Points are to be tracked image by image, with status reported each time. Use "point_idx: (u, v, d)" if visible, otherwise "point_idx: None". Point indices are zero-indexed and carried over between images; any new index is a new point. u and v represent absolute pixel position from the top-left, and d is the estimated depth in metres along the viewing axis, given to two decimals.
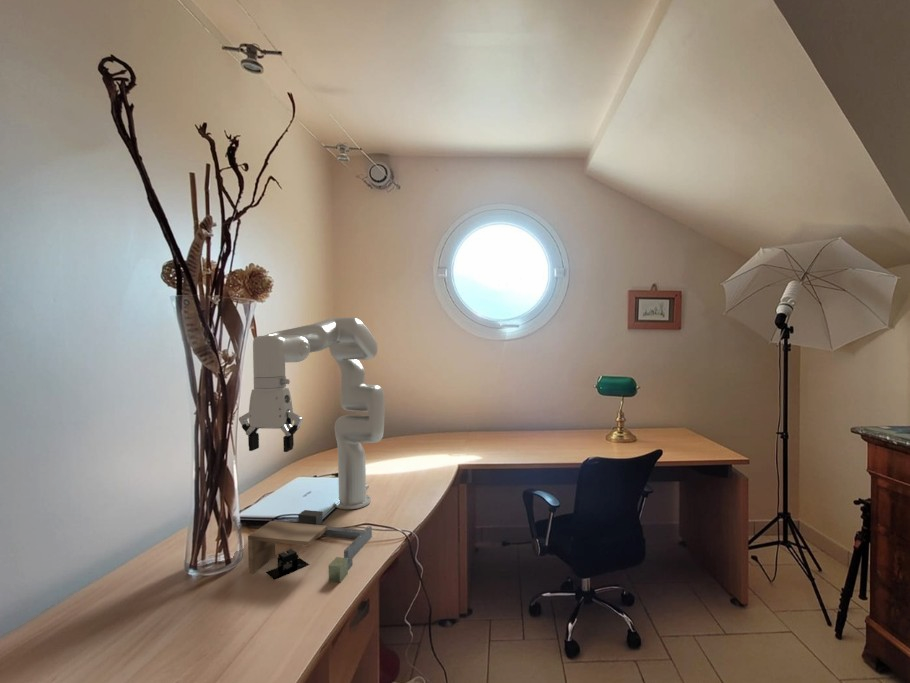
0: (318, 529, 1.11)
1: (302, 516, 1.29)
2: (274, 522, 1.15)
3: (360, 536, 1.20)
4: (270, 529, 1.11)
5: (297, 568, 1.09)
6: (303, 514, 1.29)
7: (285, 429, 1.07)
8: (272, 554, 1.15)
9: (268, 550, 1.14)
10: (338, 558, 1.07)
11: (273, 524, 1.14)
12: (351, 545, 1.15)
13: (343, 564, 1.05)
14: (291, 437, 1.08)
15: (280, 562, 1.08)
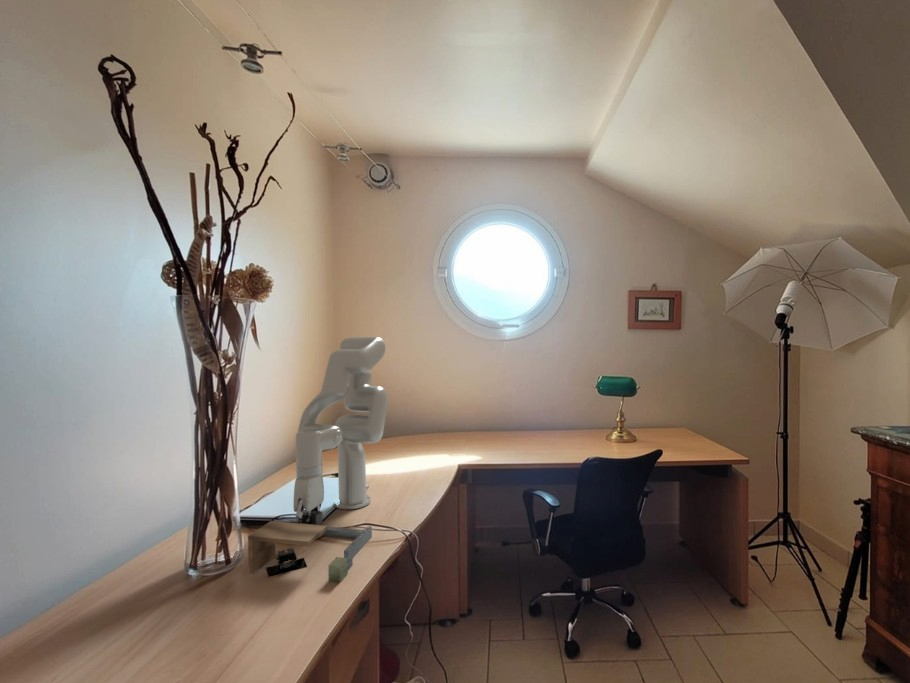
0: (318, 529, 1.11)
1: None
2: (274, 522, 1.15)
3: (360, 536, 1.20)
4: (270, 529, 1.11)
5: (294, 569, 1.09)
6: None
7: (319, 508, 1.33)
8: (272, 554, 1.15)
9: (268, 550, 1.14)
10: (338, 558, 1.07)
11: (273, 524, 1.14)
12: (351, 545, 1.15)
13: (343, 564, 1.05)
14: None
15: (278, 560, 1.09)
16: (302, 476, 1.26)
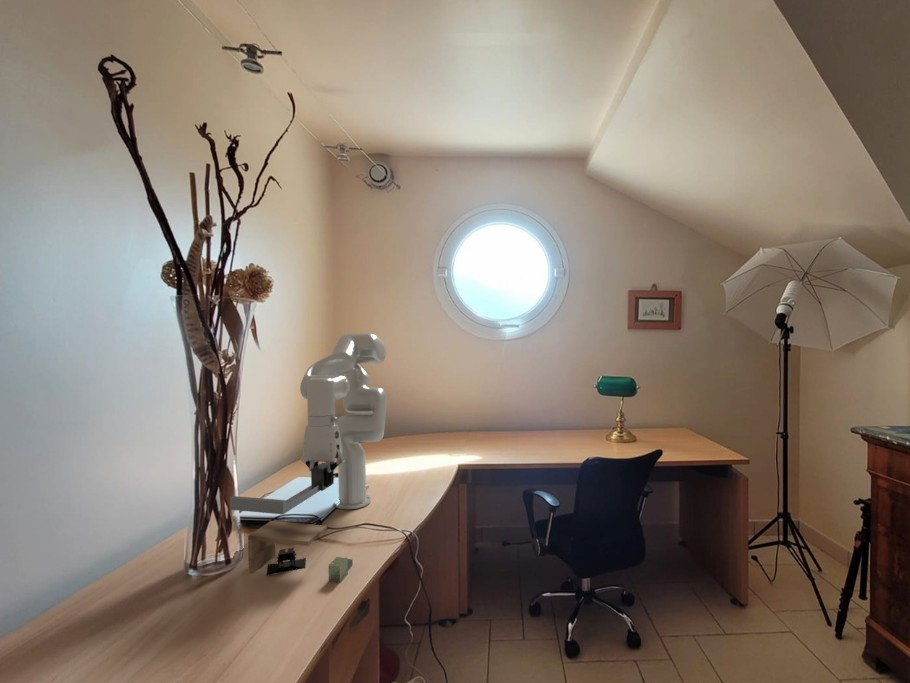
0: (318, 529, 1.11)
1: None
2: (274, 522, 1.15)
3: (260, 499, 1.05)
4: (270, 529, 1.11)
5: (292, 569, 1.09)
6: (321, 464, 1.24)
7: (329, 466, 1.20)
8: (272, 554, 1.15)
9: (268, 550, 1.14)
10: (338, 558, 1.07)
11: (273, 524, 1.14)
12: (242, 497, 1.06)
13: (343, 564, 1.05)
14: (332, 473, 1.22)
15: None
16: None
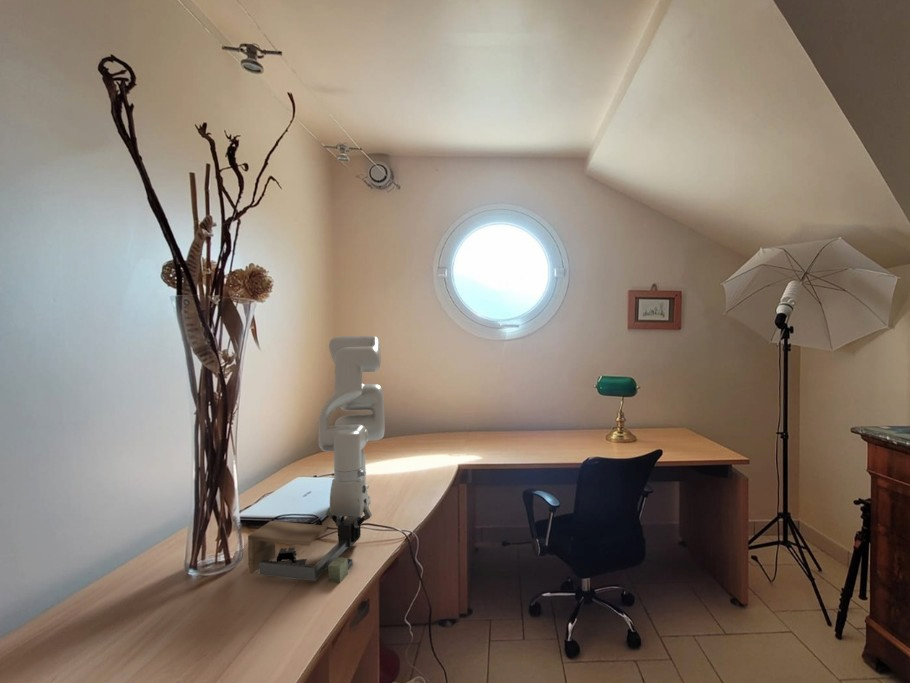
0: (318, 529, 1.11)
1: None
2: (274, 522, 1.15)
3: (291, 564, 1.03)
4: (270, 529, 1.11)
5: None
6: (347, 518, 1.22)
7: (356, 521, 1.18)
8: (272, 554, 1.15)
9: (268, 550, 1.14)
10: (338, 558, 1.07)
11: (273, 524, 1.14)
12: (272, 562, 1.04)
13: (343, 564, 1.05)
14: (359, 528, 1.19)
15: None
16: None
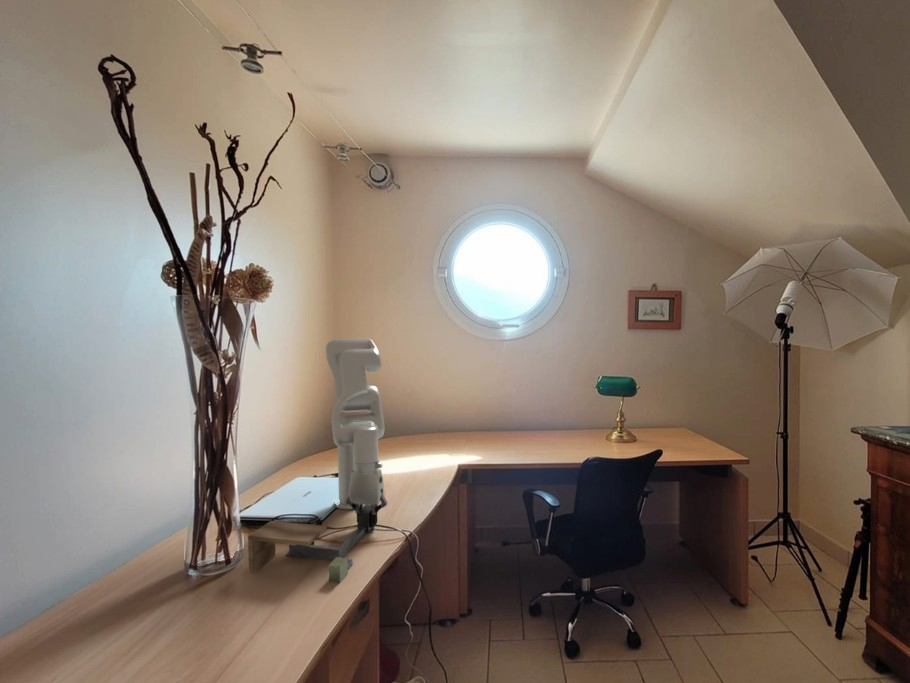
0: (318, 529, 1.11)
1: None
2: (274, 522, 1.15)
3: (317, 546, 1.15)
4: (270, 529, 1.11)
5: None
6: (365, 506, 1.34)
7: (373, 509, 1.30)
8: (272, 554, 1.15)
9: (268, 550, 1.14)
10: (338, 558, 1.07)
11: (273, 524, 1.14)
12: None
13: (343, 564, 1.05)
14: (376, 515, 1.31)
15: None
16: None
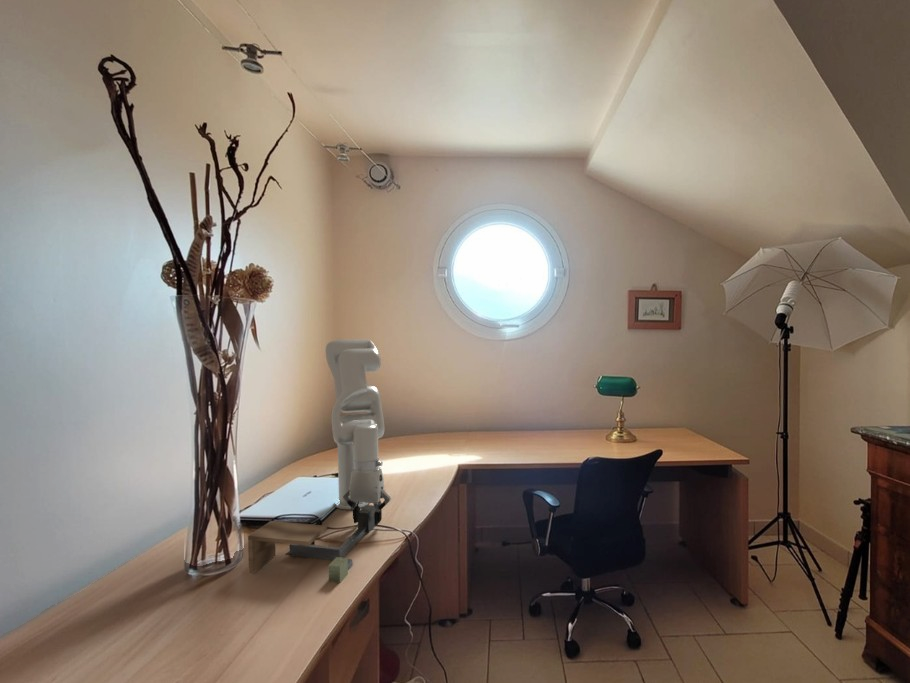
0: (318, 529, 1.11)
1: None
2: (274, 522, 1.15)
3: (318, 546, 1.15)
4: (270, 529, 1.11)
5: None
6: (365, 506, 1.34)
7: (377, 506, 1.30)
8: (272, 554, 1.15)
9: (268, 550, 1.14)
10: (338, 558, 1.07)
11: (273, 524, 1.14)
12: None
13: (343, 564, 1.05)
14: (380, 512, 1.31)
15: None
16: None
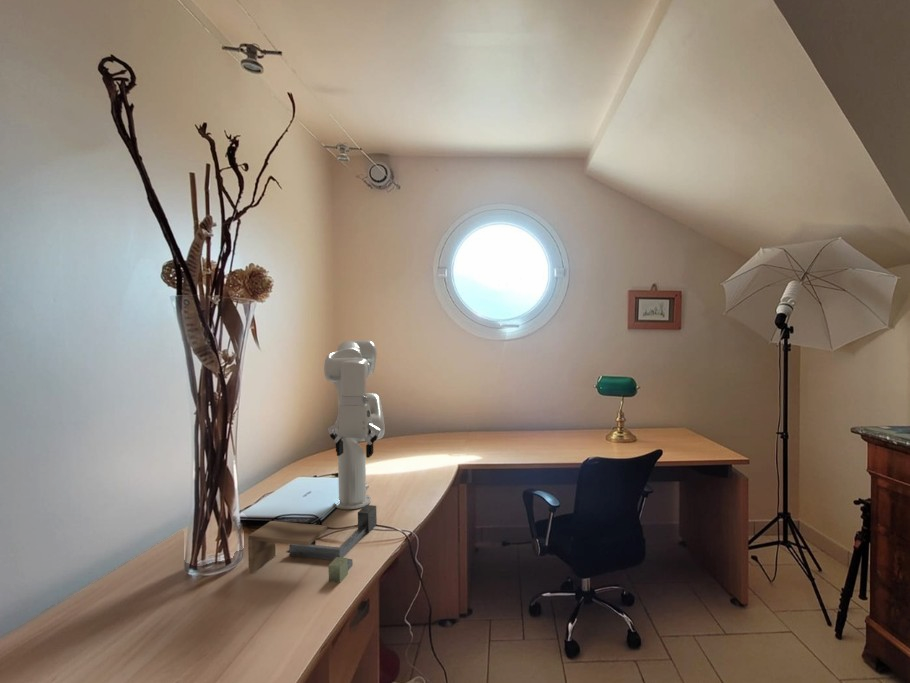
0: (318, 529, 1.11)
1: None
2: (274, 522, 1.15)
3: (318, 546, 1.15)
4: (270, 529, 1.11)
5: None
6: (365, 506, 1.34)
7: (367, 439, 1.29)
8: (272, 554, 1.15)
9: (268, 550, 1.14)
10: (338, 558, 1.07)
11: (273, 524, 1.14)
12: None
13: (343, 564, 1.05)
14: (372, 445, 1.30)
15: None
16: None
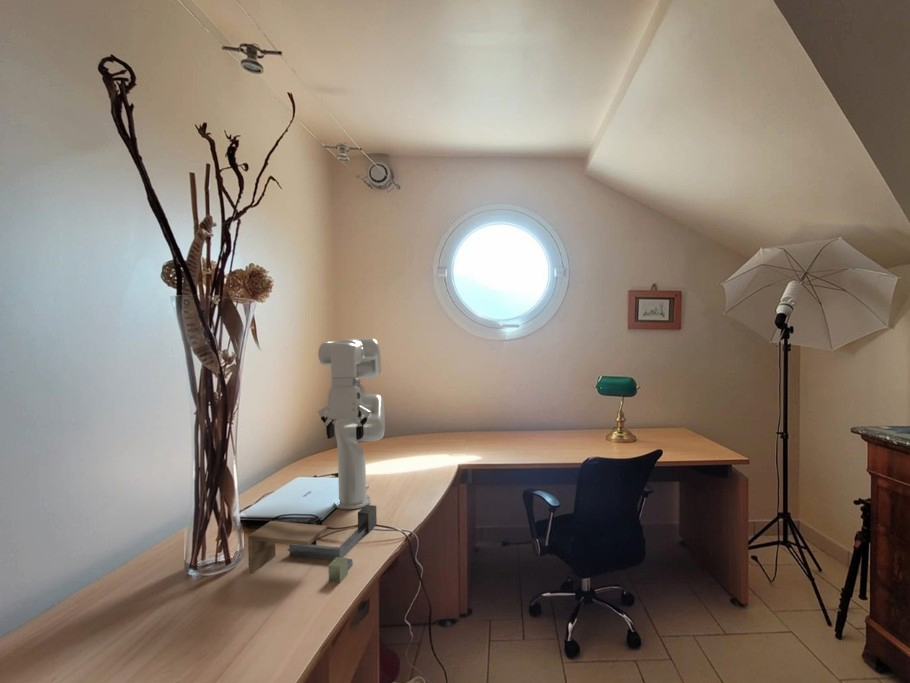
0: (318, 529, 1.11)
1: None
2: (274, 522, 1.15)
3: (318, 546, 1.15)
4: (270, 529, 1.11)
5: None
6: (365, 506, 1.34)
7: (357, 421, 1.29)
8: (272, 554, 1.15)
9: (268, 550, 1.14)
10: (338, 558, 1.07)
11: (273, 524, 1.14)
12: None
13: (343, 564, 1.05)
14: (362, 427, 1.30)
15: None
16: None
